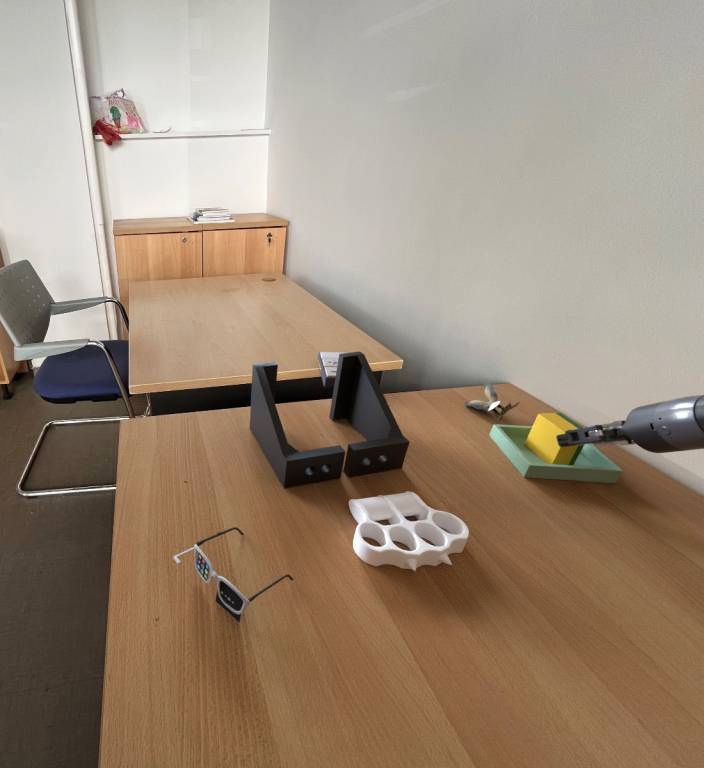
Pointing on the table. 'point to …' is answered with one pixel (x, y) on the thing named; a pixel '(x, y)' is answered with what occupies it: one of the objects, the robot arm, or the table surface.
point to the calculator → (328, 367)
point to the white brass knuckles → (405, 531)
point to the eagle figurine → (490, 402)
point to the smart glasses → (223, 580)
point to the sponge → (552, 439)
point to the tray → (585, 468)
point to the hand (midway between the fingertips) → (581, 440)
